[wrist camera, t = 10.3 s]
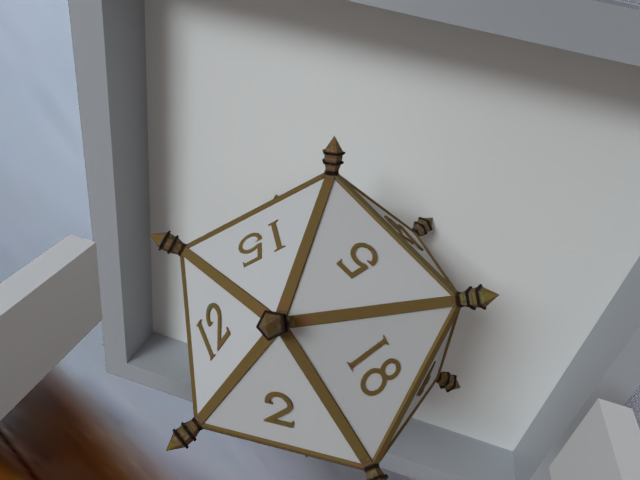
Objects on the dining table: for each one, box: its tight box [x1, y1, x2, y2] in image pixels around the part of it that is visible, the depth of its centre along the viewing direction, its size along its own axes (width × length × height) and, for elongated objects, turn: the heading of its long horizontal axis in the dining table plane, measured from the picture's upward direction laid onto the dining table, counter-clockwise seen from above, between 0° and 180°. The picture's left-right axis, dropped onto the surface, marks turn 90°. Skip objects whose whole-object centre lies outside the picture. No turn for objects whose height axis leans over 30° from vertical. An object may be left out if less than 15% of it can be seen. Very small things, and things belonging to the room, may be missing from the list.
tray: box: [68, 0, 640, 480], centre depth 16 cm, size 17×18×3 cm
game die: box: [150, 136, 499, 480], centre depth 14 cm, size 9×8×10 cm
